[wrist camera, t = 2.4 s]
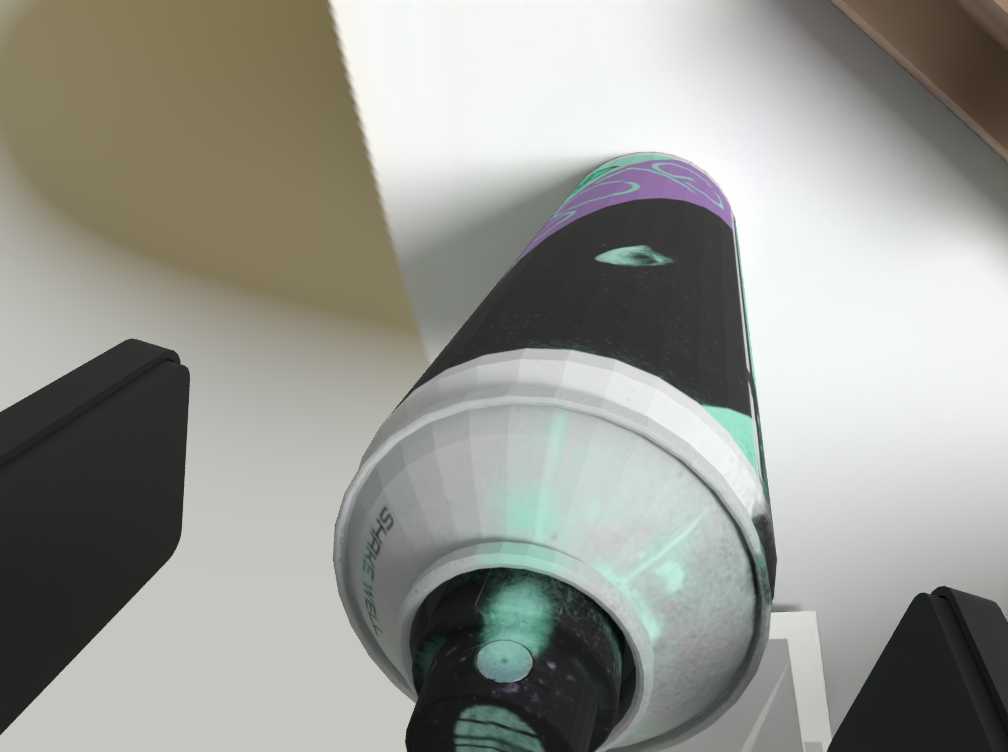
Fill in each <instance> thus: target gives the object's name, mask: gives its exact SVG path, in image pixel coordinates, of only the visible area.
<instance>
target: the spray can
mask: <svg viewBox="0 0 1008 752" xmlns="http://www.w3.org/2000/svg"><path fill="white" fill-rule="evenodd" d="M333 561H334V568H335V574H336V580H337V586H338V592H339V596H340V598H341V601H342V603H343V606H344V609H345V611H346V614H347V616H348V619H349V622H350V624H351V626H352V628H353V630H354V631H355V633H356V635H357V636H358V638H359V639H360V641H361V643H362V645H363V646H364V648H365V650H366V651H367V653H368V655H369V656H370V657H371V659H372V660H373V661H374V662H375V663H376V664H377V666H378V667H379V668H380V669H381V670H382V671H383V673H384V674H385V675H386V676H387V677H388V678H389V680H390V681H391V682H392V683H393V684H394V685H395V686H396V687H397V688H398V689H400V690H401V691H402V692H403V693H404V694H405V695H407V696H408V697H409V698H410V699H411V700H412V701H414V702H415V703H416V705H415V708H414V711H413V714H412V716H411V719H410V722H409V725H408V727H407V730H406V740H405V743H406V748H407V752H659V751H662V750H665V749H668V748H671V747H674V746H676V745H679V744H681V743H682V742H684V741H686V740H688V739H689V738H691V737H693V736H695V735H696V734H698V733H700V732H702V731H703V730H705V729H707V728H709V727H710V726H711V725H712V724H713V723H715V722H716V721H717V720H718V719H719V718H720V717H721V716H722V715H723V714H725V713H726V712H727V711H728V710H729V709H730V708H731V707H732V706H733V705H734V704H736V703H737V701H738V700H739V698H740V697H741V695H742V694H743V692H744V691H745V689H746V688H747V686H748V685H749V684H750V682H751V681H752V679H753V678H754V676H755V675H756V673H757V670H758V668H759V665H760V662H761V659H762V657H763V654H764V651H765V648H766V645H767V643H768V640H769V630H770V618H771V607H772V600H773V597H774V587H775V576H776V564H777V556H776V548H775V539H774V531H773V523H772V515H771V506H770V498H769V490H768V481H767V473H766V465H765V457H764V448H763V440H762V432H761V424H760V415H759V407H758V399H757V391H756V382H755V374H754V366H753V358H752V349H751V341H750V333H749V325H748V316H747V308H746V300H745V292H744V283H743V275H742V267H741V259H740V250H739V242H738V234H737V228H736V221H735V217H734V214H733V212H732V209H731V206H730V204H729V201H728V199H727V197H726V196H725V194H724V193H723V191H722V190H721V188H720V187H719V185H718V184H717V183H716V182H715V181H714V180H713V179H712V178H711V177H710V176H709V175H708V174H707V173H706V172H705V171H704V170H702V169H701V168H699V167H698V166H696V165H695V164H693V163H692V162H690V161H687V160H685V159H682V158H680V157H677V156H675V155H670V154H665V153H659V152H638V153H633V154H629V155H624V156H620V157H618V158H616V159H613V160H611V161H609V162H607V163H605V164H603V165H601V166H600V167H599V168H597V169H596V170H594V171H593V172H592V173H590V174H589V175H587V176H586V177H585V178H584V180H583V181H582V182H581V183H580V184H579V185H578V186H577V187H576V188H575V189H574V190H573V192H572V193H571V194H570V195H569V196H568V198H567V199H566V200H565V201H564V203H563V204H562V205H561V206H560V208H559V209H558V210H557V211H556V212H555V214H554V215H553V216H552V217H551V219H550V220H549V221H548V222H547V223H546V225H545V226H544V227H543V228H542V230H541V231H540V232H539V233H538V234H537V236H536V237H535V238H534V239H533V241H532V242H531V243H530V244H529V245H528V247H527V248H526V249H525V250H524V252H523V253H522V254H521V255H520V257H519V258H518V259H517V260H516V261H515V263H514V264H513V265H512V266H511V268H510V269H509V270H508V271H507V272H506V274H505V275H504V276H503V277H502V279H501V280H500V281H499V282H498V283H497V285H496V286H495V287H494V288H493V290H492V291H491V292H490V293H489V294H488V296H487V297H486V298H485V299H484V301H483V302H482V303H481V304H480V306H479V307H478V308H477V309H476V310H475V312H474V313H473V314H472V315H471V317H470V318H469V319H468V320H467V321H466V323H465V324H464V325H463V326H462V328H461V329H460V330H459V331H458V332H457V334H456V335H455V336H454V337H453V339H452V340H451V341H450V342H449V343H448V345H447V346H446V347H445V348H444V350H443V351H442V352H441V353H440V355H439V356H438V357H437V358H436V359H435V361H434V362H433V363H432V364H431V366H430V367H429V368H428V369H427V370H426V372H425V373H424V374H423V375H422V377H421V378H420V379H419V380H418V382H417V383H416V384H415V385H414V387H413V388H412V389H411V390H410V391H409V393H408V394H407V395H406V396H405V397H404V399H403V400H402V401H401V402H400V404H399V405H398V406H397V407H396V408H395V410H394V411H393V412H392V413H391V415H390V416H389V417H388V418H387V419H386V421H385V422H384V423H383V424H382V426H381V427H380V428H379V430H378V432H377V433H376V435H375V437H374V438H373V440H372V442H371V444H370V445H369V447H368V449H367V450H366V452H365V454H364V456H363V457H362V460H361V463H360V466H359V470H358V472H357V473H356V475H355V477H354V479H353V480H352V482H351V484H350V485H349V487H348V489H347V490H346V492H345V494H344V497H343V501H342V504H341V507H340V511H339V514H338V517H337V521H336V524H335V533H334V551H333Z"/></svg>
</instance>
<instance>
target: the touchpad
mask: <svg viewBox="0 0 1008 752" xmlns="http://www.w3.org/2000/svg"><path fill="white" fill-rule="evenodd" d="M831 741H832V738H831V730H830V722H829V714H828V706H827V698H826V690H825V682H824V674H823V667H822V659H821V651H820V643H819V635H818V627H817V619H816V611H798V612H774V613H771V618H770V630H769V640H768V643H767V645H766V648H765V651H764V654H763V657H762V659H761V662H760V665H759V668H758V670H757V673H756V675H755V676H754V678H753V679H752V681H751V682H750V684H749V685H748V686H747V688H746V689H745V691H744V692H743V694H742V695H741V697H740V698H739V700H738V701H737V703H736V704H734V705H733V706H732V707H731V708H730V709H729V710H728V711H727V712H726V713H725V714H723V715H722V716H721V717H720V718H719V719H718V720H717V721H716V722H715V723H713V724H712V725H711V726H710V727H709V728H707V729H705V730H703V731H702V732H700V733H698V734H696V735H695V736H693V737H691V738H689V739H688V740H686V741H684V742H682V743H681V744H679V745H676V746H674V747H671V748H668V749H665V750H662V751H659V752H827V749H828V747H829V745H830V743H831Z"/></svg>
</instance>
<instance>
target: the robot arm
mask: <svg viewBox="0 0 1008 752" xmlns="http://www.w3.org/2000/svg"><path fill="white" fill-rule="evenodd" d="M189 384H190V373H189V370H188V368H187V367H186V366H184V365H181V364H180V359H179V356H178V354H177V353H176V352H175V351H173V350H169V349H166V348H163V347H160V346H157V345H153V344H150V343H147V342H143V341H140V340H137V339H128V340H126V341H124V342H122V343H120V344H118V345H117V346H115V347H113V348H111V349H110V350H108V351H106V352H104V353H103V354H101V355H99V356H97V357H96V358H94V359H92V360H91V361H89V362H87V363H85V364H83V365H82V366H80V367H78V368H76V369H75V370H73V371H71V372H70V373H68V374H66V375H64V376H63V377H61V378H59V379H57V380H56V381H54V382H52V383H50V384H49V385H47V386H45V387H43V388H42V389H40V390H38V391H37V392H35V393H33V394H32V395H29V396H28V397H26V398H24V399H22V400H21V401H19V402H17V403H16V404H14V405H12V406H10V407H8V408H7V409H5V410H3V411H2V412H0V735H1V734H2V733H3V732H4V731H5V729H7V728H8V726H9V725H10V724H11V723H12V722H13V721H14V720H15V719H16V718H17V717H18V716H19V715H20V714H21V713H22V712H23V711H24V710H25V709H26V708H27V707H28V705H29V704H30V703H31V702H33V700H34V699H35V698H36V697H37V696H38V695H39V694H40V693H41V692H42V691H43V690H44V689H45V688H46V687H47V686H48V685H49V684H50V683H51V682H52V681H53V680H54V678H56V676H58V674H59V673H60V672H61V671H62V670H63V669H64V668H65V667H66V666H67V665H68V664H69V663H70V662H71V661H72V660H73V659H74V658H75V657H76V656H77V655H78V654H79V653H80V652H81V650H82V649H83V648H84V647H85V646H86V645H87V644H88V643H89V642H90V641H91V640H92V639H93V638H94V637H95V636H96V635H97V634H98V633H99V632H100V631H101V630H102V629H103V627H104V626H106V624H107V623H108V622H109V621H110V620H111V619H112V618H113V617H114V616H115V615H116V614H117V613H118V612H119V611H120V610H121V609H122V608H123V607H124V606H125V605H126V604H127V603H128V602H129V601H130V600H131V598H132V597H133V596H134V595H135V594H136V593H137V592H138V591H139V590H140V589H141V588H142V587H143V586H144V585H145V584H146V583H147V582H148V581H149V580H150V579H151V578H152V577H153V576H154V575H155V573H156V572H157V571H158V570H159V569H160V568H161V567H162V566H163V565H164V564H165V563H166V562H167V561H168V560H169V559H170V557H171V556H172V555H173V553H174V551H175V550H176V548H177V545H178V543H179V540H180V537H181V530H182V512H183V496H184V477H185V459H186V441H187V423H188V404H189V386H190V385H189ZM827 752H1008V622H1007V620H1006V618H1005V616H1004V615H1003V613H1002V611H1001V609H1000V608H999V606H998V605H997V604H996V603H995V602H993V601H991V600H988V599H985V598H981V597H978V596H975V595H972V594H968V593H965V592H962V591H959V590H955V589H952V588H949V587H945V586H942V587H938V588H937V589H935V590H934V591H933V592H932V593H931V594H927V593H919V594H918V595H917V596H915V598H914V599H913V601H912V602H911V604H910V605H909V607H908V609H907V611H906V612H905V614H904V616H903V618H902V619H901V621H900V623H899V625H898V626H897V628H896V630H895V631H894V633H893V635H892V637H891V638H890V640H889V642H888V644H887V645H886V647H885V649H884V651H883V652H882V654H881V656H880V657H879V659H878V661H877V663H876V664H875V666H874V668H873V670H872V671H871V673H870V675H869V677H868V678H867V680H866V682H865V684H864V685H863V687H862V689H861V690H860V692H859V694H858V696H857V697H856V699H855V701H854V703H853V704H852V706H851V708H850V710H849V711H848V713H847V715H846V717H845V718H844V720H843V722H842V723H841V725H840V727H839V729H838V730H837V732H836V734H835V736H834V737H833V739H832V741H831V743H830V745H829V747H828V749H827Z"/></svg>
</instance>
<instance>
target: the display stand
mask: <svg viewBox="0 0 1008 752" xmlns="http://www.w3.org/2000/svg"><path fill="white" fill-rule="evenodd" d="M830 1H831V2H832V3H833V4H834V5H835V6H836V7H837V8H839V9H840V10H841V11H842V12H843V13H844V14H845V15H846V16H847V17H848V18H850V19H851V20H852V21H853V22H854V23H855V24H856V25H857V26H858V27H859V28H861V29H862V30H863V31H864V32H865V33H866V34H867V35H868V36H869V37H870V38H872V39H873V40H874V41H875V42H876V43H877V44H878V45H879V46H880V47H881V48H883V49H884V50H885V51H886V52H887V53H888V54H889V55H890V56H891V57H892V58H894V59H895V60H896V61H897V62H898V63H899V64H900V65H901V66H902V67H903V68H905V69H906V70H907V71H908V72H909V73H910V74H911V75H912V76H913V77H914V78H916V79H917V80H918V81H919V82H920V83H921V84H922V85H923V86H924V87H925V88H927V89H928V90H929V91H930V92H931V93H932V94H933V95H934V96H935V97H936V98H938V99H939V100H940V101H941V102H942V103H943V104H944V105H945V106H946V107H947V108H948V109H950V110H951V111H952V112H953V113H954V114H955V115H956V116H957V117H958V118H959V119H961V120H962V121H963V122H964V123H965V124H966V125H967V126H968V127H969V128H970V129H972V130H973V131H974V132H975V133H976V134H977V135H978V136H979V137H980V138H981V139H983V140H984V141H985V142H986V143H987V144H988V145H989V146H990V147H991V148H992V149H994V150H995V151H996V152H997V153H998V154H999V155H1000V156H1001V157H1002V158H1003V159H1005V160H1006V161H1007V162H1008V0H830Z"/></svg>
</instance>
